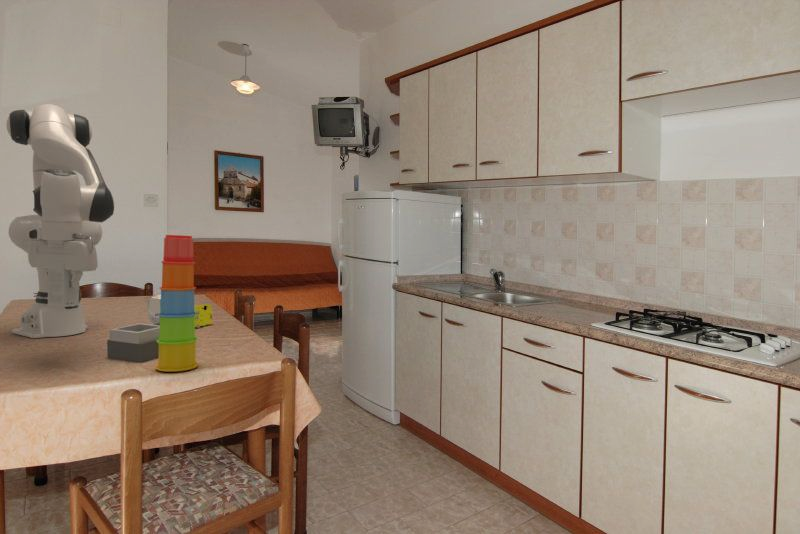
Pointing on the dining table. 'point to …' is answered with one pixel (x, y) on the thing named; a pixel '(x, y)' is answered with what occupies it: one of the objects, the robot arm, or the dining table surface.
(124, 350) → the grey open cubby box
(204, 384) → the dining table surface
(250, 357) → the dining table surface
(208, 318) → the yellow toy chassis
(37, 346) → the dining table surface
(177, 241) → the stacking cups
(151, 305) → the beer glass
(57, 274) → the skincare box
